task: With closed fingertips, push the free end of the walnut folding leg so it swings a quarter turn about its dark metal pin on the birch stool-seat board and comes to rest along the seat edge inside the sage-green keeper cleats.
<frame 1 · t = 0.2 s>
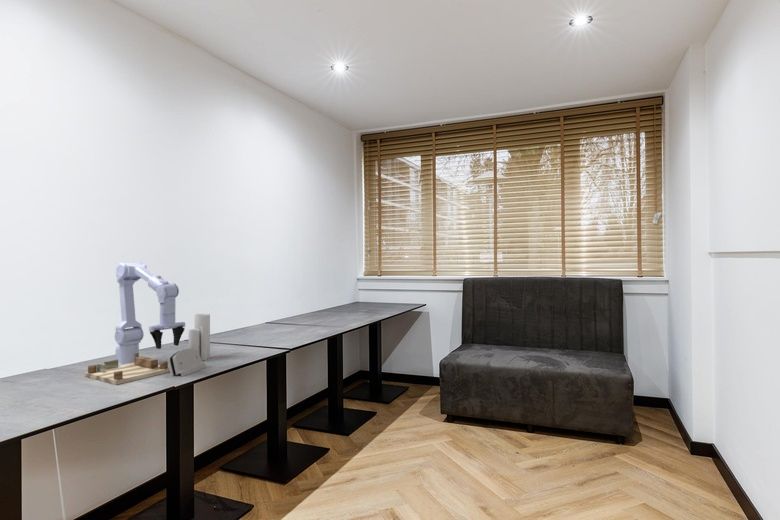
hand: (167, 346, 184), 10 cm above the table, fingers open, 7 cm apart
folding leg: (146, 362, 186), point 3 cm above the table, hinge at 0.0°
hinge: (186, 371, 185), on the table
vase: (200, 359, 205), on the table
seat board: (129, 373, 180), on the table
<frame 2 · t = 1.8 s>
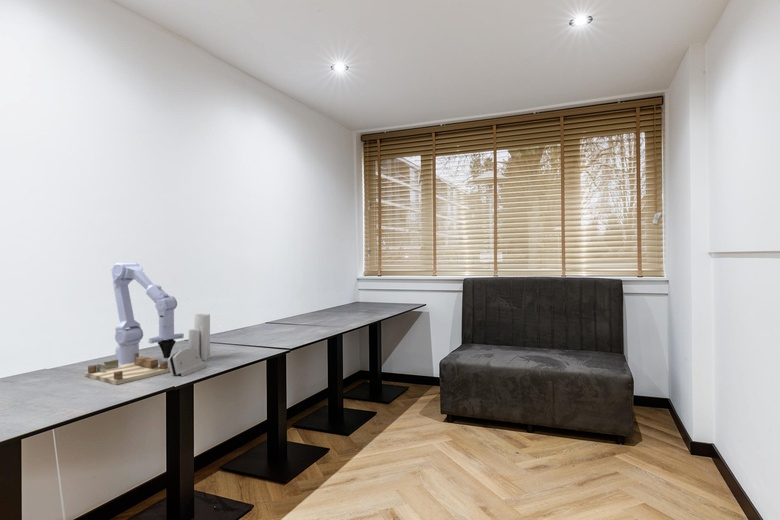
hand: (166, 357, 190), 4 cm above the table, fingers closed
nothing on the table moved.
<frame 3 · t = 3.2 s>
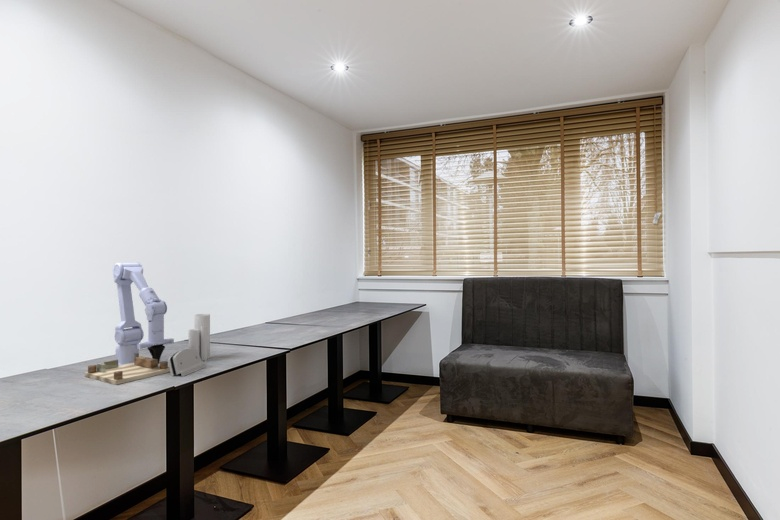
hand: (156, 363, 186), 3 cm above the table, fingers closed, pressing on folding leg
folding leg: (146, 362, 186), point 3 cm above the table, hinge at 0.0°, touching gripper
everything else where it was.
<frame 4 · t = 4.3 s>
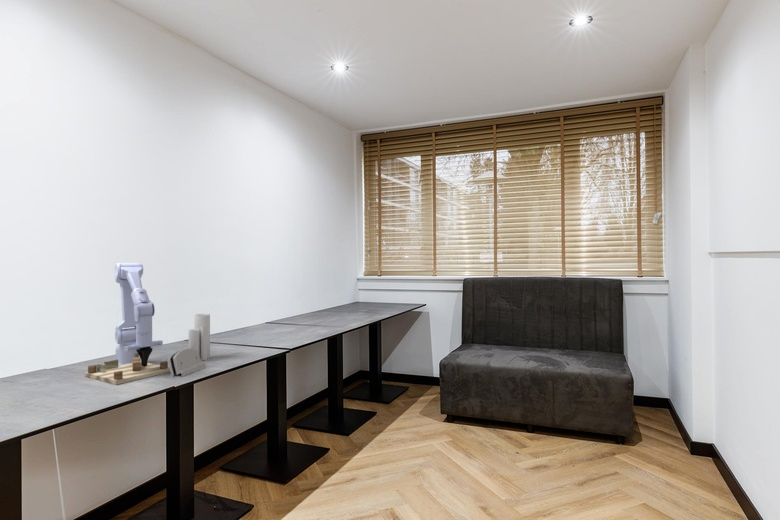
hand: (144, 366, 182), 3 cm above the table, fingers closed, pressing on folding leg
folding leg: (136, 363, 183), point 3 cm above the table, hinge at 29.6°, touching gripper
everything else where it was.
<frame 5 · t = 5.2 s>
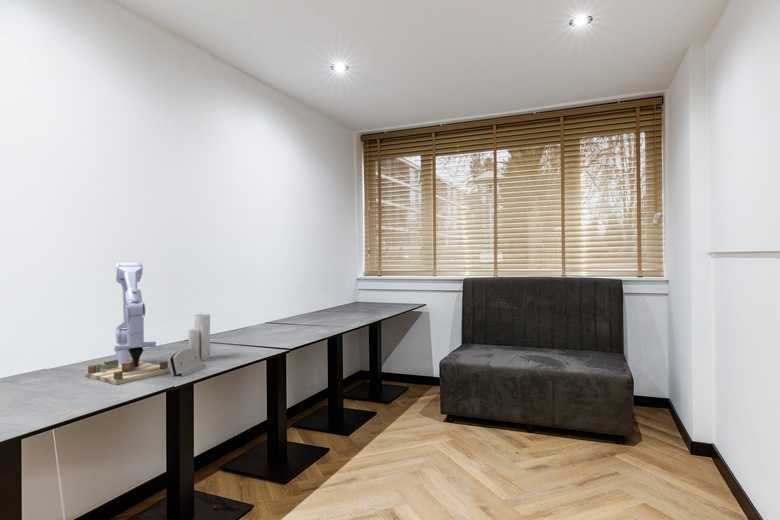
hand: (135, 366, 180), 3 cm above the table, fingers closed
folding leg: (130, 363, 182), point 3 cm above the table, hinge at 46.8°, touching gripper
everything else where it was.
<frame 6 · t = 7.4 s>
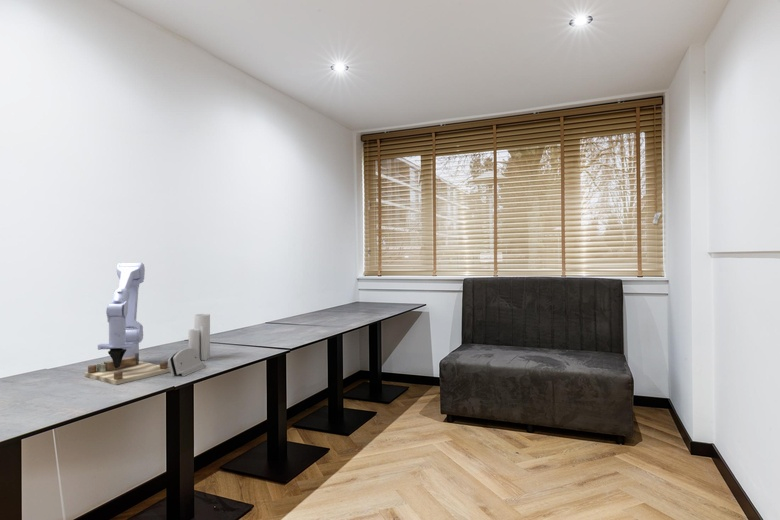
hand: (117, 367, 179), 3 cm above the table, fingers closed
folding leg: (120, 363, 183), point 3 cm above the table, hinge at 85.2°, touching gripper
everything else where it was.
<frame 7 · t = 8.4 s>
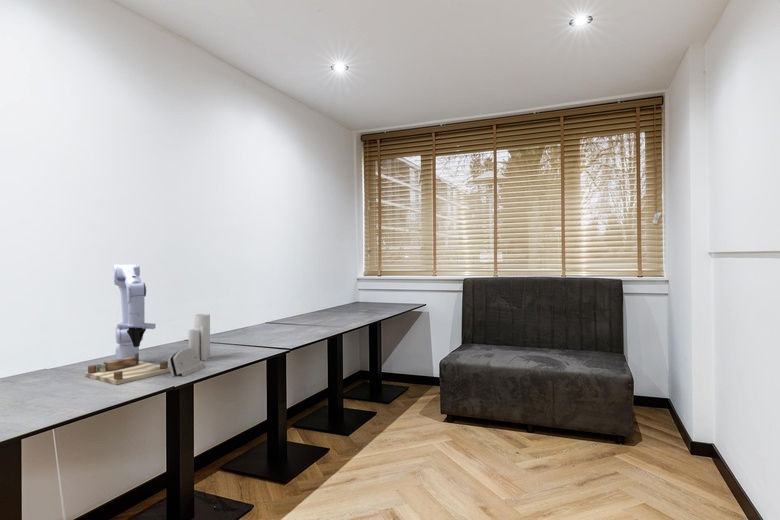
hand: (136, 346, 182), 10 cm above the table, fingers closed
folding leg: (120, 363, 183), point 3 cm above the table, hinge at 85.2°
everything else where it was.
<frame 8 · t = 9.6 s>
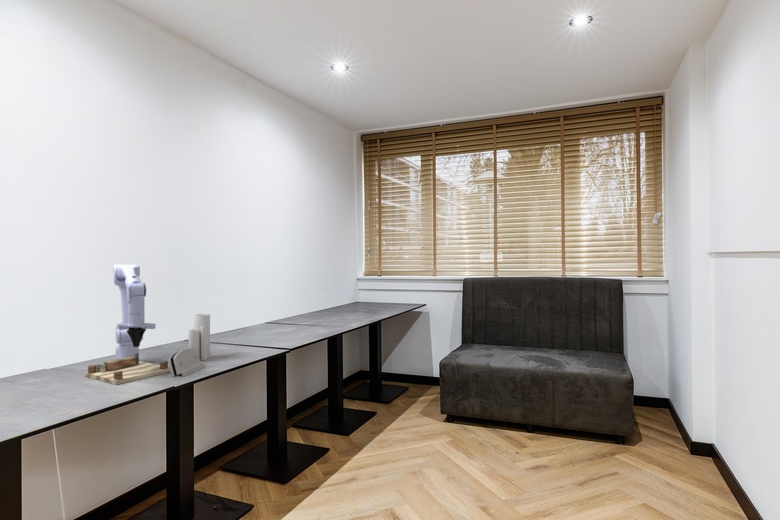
hand: (136, 346, 182), 10 cm above the table, fingers closed
nothing on the table moved.
at the end: folding leg at +85° (first picture: +0°); the gripper is holding nothing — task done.
